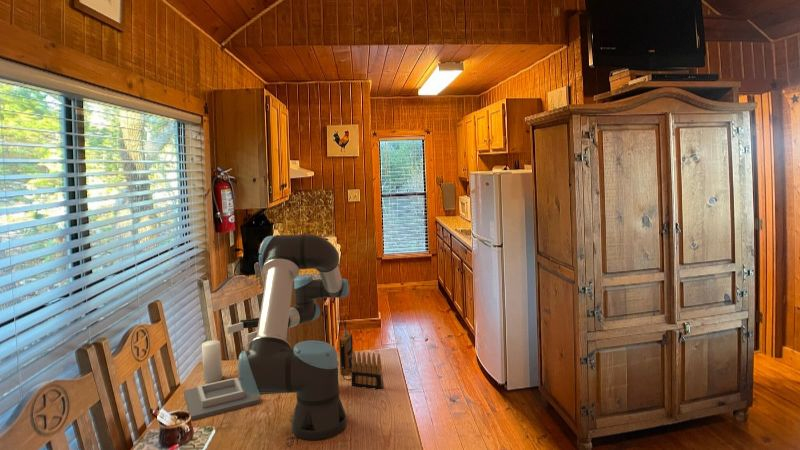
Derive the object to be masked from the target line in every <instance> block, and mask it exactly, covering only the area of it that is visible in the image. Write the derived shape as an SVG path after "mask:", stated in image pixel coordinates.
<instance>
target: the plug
mask: <svg viewBox="0 0 800 450" xmlns="http://www.w3.org/2000/svg"><path fill="white" fill-rule="evenodd" d="M201 355H202V357H201V358H202V370H203V381H205V382H204V383H206V382H207V383H206V384H209V383H212V382H217V381H219V380H220V381H222V379H223V366H222V363H223V362H222V350H221V341H220V340H214V339H211V340H207V341H204V342H203V343H201Z"/></svg>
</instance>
